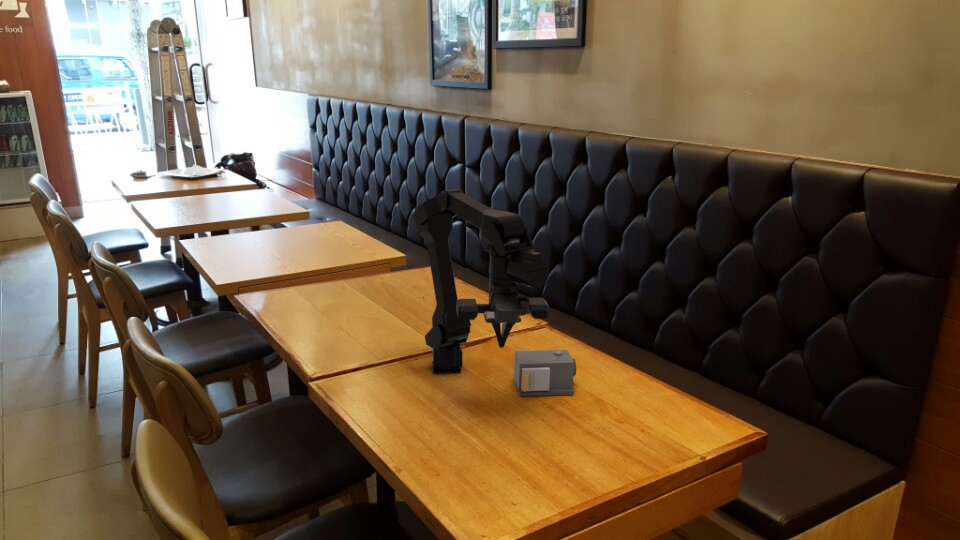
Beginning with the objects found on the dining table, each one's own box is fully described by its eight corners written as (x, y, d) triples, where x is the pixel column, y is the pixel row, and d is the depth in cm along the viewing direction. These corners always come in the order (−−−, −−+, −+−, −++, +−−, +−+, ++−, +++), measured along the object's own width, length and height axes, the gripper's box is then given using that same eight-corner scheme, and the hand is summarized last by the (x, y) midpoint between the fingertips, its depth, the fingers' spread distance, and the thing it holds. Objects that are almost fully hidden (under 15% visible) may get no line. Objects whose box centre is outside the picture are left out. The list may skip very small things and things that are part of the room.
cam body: (519, 396, 146) (520, 363, 144) (513, 379, 154) (514, 348, 152) (579, 394, 148) (582, 362, 145) (571, 377, 156) (572, 347, 153)
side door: (522, 393, 145) (523, 372, 143) (520, 389, 147) (521, 368, 145) (550, 392, 145) (551, 371, 144) (548, 388, 147) (549, 367, 146)
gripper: (460, 288, 128) (459, 364, 133) (557, 287, 130) (552, 361, 135) (456, 272, 139) (455, 342, 143) (545, 271, 141) (542, 340, 145)
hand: (501, 347), depth 142 cm, fingers closed
